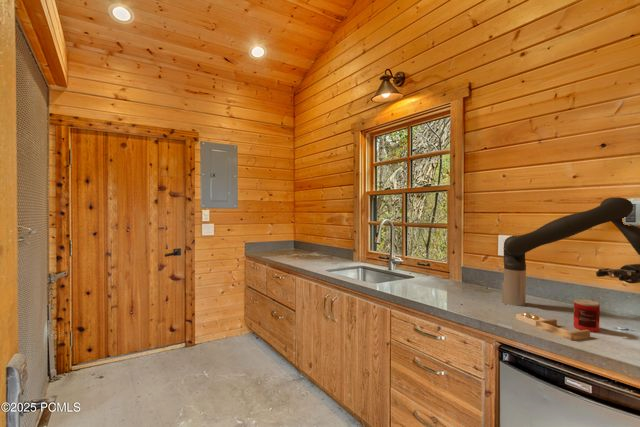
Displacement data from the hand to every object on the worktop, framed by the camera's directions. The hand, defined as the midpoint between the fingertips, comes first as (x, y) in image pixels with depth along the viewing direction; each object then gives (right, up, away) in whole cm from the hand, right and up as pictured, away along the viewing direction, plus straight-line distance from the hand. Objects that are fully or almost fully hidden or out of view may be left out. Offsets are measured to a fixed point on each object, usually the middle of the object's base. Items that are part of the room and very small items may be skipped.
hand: (608, 275), depth 131 cm
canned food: (-11, -20, -3) cm, 23 cm away
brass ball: (-27, -19, +3) cm, 33 cm away
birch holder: (-23, -20, -7) cm, 31 cm away
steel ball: (-28, -19, +7) cm, 35 cm away
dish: (-27, -20, +5) cm, 34 cm away
